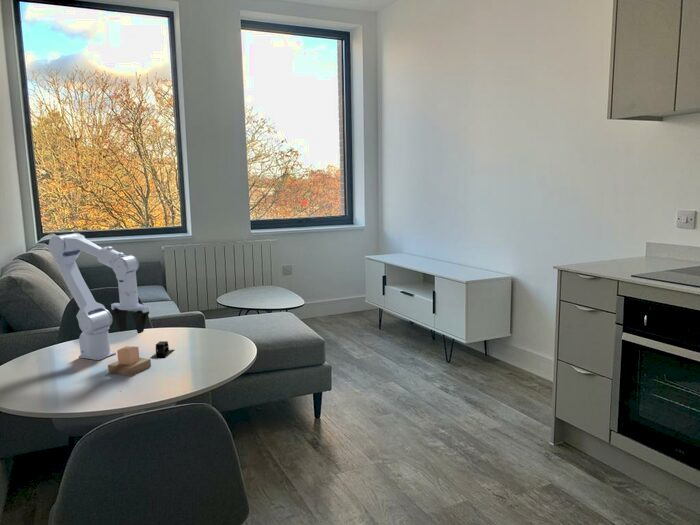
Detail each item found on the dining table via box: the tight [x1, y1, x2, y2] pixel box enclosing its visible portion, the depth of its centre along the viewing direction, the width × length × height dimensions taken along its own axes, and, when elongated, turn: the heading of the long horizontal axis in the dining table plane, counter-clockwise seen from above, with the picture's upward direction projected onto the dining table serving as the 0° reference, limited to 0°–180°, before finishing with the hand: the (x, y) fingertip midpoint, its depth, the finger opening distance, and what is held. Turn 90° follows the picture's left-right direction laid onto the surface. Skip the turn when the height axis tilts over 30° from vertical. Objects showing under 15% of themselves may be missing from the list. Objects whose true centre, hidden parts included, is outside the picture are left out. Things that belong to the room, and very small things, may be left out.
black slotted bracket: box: [148, 340, 175, 360], centre depth 189 cm, size 12×7×5 cm, turn 176°
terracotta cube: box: [116, 345, 140, 365], centre depth 173 cm, size 4×4×4 cm
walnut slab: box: [107, 357, 152, 377], centre depth 174 cm, size 9×9×3 cm
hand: (131, 331), depth 182 cm, fingers open, 7 cm apart
